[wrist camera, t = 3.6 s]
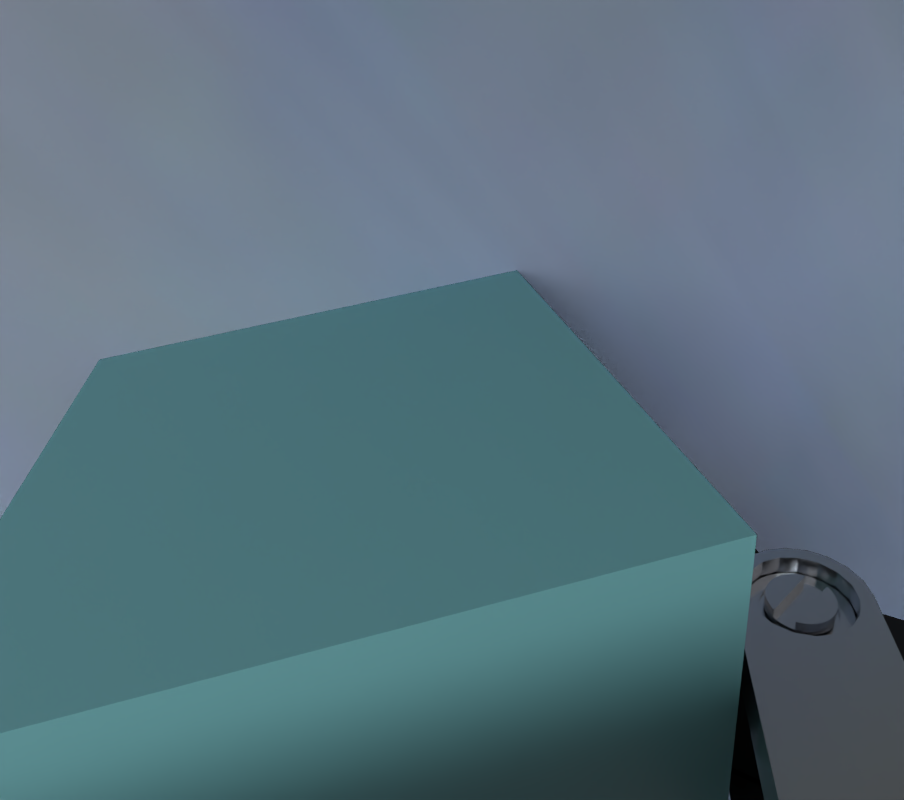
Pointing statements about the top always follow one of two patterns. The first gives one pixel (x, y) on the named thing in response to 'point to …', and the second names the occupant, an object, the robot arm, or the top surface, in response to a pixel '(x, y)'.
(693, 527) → the teal block
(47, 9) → the top surface
